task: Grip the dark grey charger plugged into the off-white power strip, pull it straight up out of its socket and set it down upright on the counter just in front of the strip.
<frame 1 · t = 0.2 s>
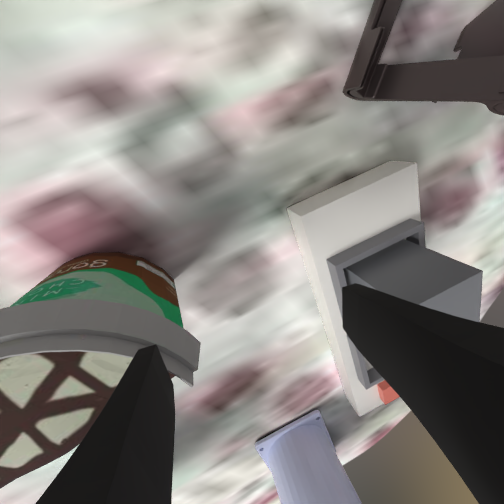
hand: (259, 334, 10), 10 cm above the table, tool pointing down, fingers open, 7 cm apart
charger: (374, 271, 20), point 2 cm above the table, touching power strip
portable electronic device stand: (406, 43, 17), on the table
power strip: (363, 302, 25), on the table
food container: (87, 283, 17), on the table
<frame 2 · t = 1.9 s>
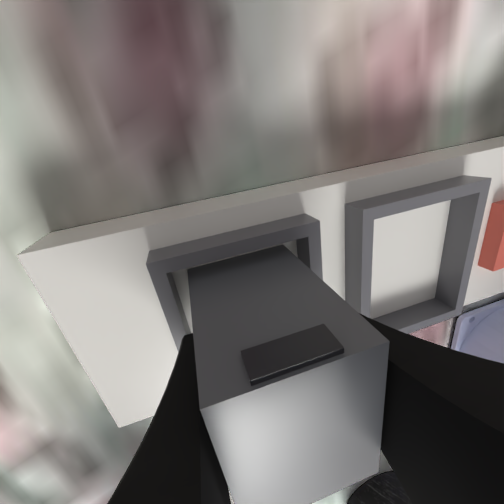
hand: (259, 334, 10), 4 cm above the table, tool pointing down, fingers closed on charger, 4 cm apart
travel mug: (374, 491, 28), on the table
charger: (246, 306, 11), point 2 cm above the table, touching gripper, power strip
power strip: (320, 256, 15), on the table
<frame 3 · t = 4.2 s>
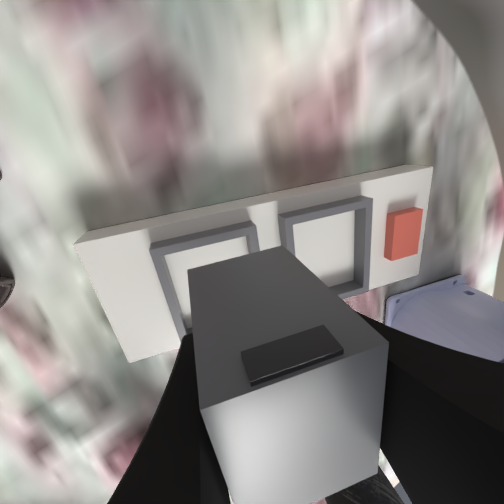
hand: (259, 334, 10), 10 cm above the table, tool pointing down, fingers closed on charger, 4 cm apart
travel mug: (333, 447, 34), on the table
charger: (246, 307, 11), point 8 cm above the table, touching gripper
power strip: (272, 250, 20), on the table
when the fingers open (3 cm above the table, at t = 6.5 s): charger drops 2 cm, on the table.
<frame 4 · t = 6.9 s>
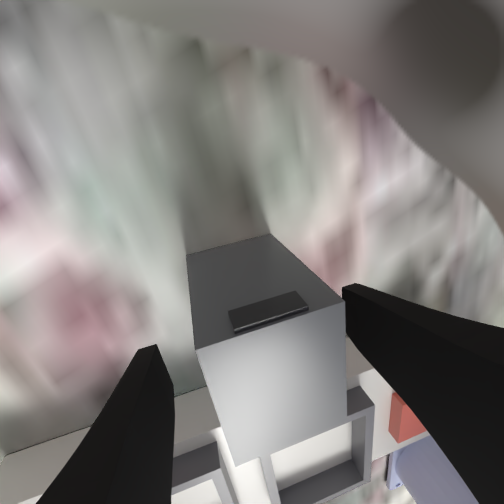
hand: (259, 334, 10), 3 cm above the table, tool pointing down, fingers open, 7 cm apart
charger: (239, 289, 13), on the table
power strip: (251, 423, 17), on the table
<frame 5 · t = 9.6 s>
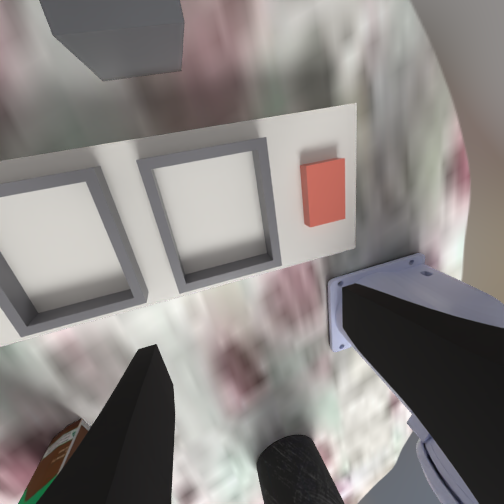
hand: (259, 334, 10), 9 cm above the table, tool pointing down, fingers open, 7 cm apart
travel mug: (285, 454, 30), on the table
charger: (125, 15, 12), on the table
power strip: (164, 216, 16), on the table
food container: (77, 463, 22), on the table
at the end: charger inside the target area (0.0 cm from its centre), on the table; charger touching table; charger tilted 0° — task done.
